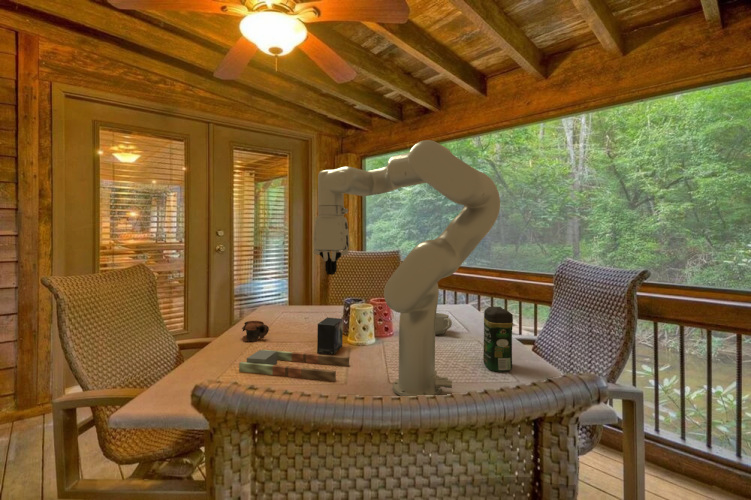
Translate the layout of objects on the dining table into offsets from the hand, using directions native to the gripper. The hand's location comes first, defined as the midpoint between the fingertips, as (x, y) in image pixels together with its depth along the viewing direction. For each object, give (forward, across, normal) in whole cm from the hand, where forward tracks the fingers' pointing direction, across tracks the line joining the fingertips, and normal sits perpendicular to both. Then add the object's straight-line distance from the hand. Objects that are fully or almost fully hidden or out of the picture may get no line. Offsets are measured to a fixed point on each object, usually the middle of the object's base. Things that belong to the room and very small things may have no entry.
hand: (331, 274), depth 113 cm
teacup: (+29, -28, -49) cm, 64 cm away
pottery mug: (+29, +40, -24) cm, 55 cm away
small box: (+29, +7, -18) cm, 35 cm away
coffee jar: (+29, -49, -15) cm, 59 cm away
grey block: (+29, +22, +3) cm, 36 cm away
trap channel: (+29, +11, +2) cm, 31 cm away
